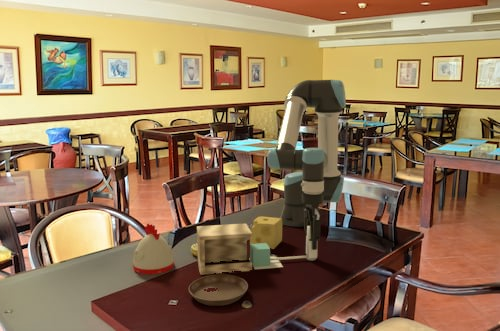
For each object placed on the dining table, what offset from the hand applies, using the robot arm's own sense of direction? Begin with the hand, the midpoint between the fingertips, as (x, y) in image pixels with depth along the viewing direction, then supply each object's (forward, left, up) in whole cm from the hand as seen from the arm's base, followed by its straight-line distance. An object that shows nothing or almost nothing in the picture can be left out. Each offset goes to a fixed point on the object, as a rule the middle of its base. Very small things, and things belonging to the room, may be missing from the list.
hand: (311, 255), depth 164 cm
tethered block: (+10, 0, -1) cm, 10 cm away
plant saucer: (+36, +22, -2) cm, 42 cm away
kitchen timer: (+56, -5, -2) cm, 56 cm away
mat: (+17, 0, -2) cm, 17 cm away
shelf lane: (+32, 0, -2) cm, 32 cm away
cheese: (+12, -20, -2) cm, 23 cm away
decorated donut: (+37, -14, -2) cm, 40 cm away
